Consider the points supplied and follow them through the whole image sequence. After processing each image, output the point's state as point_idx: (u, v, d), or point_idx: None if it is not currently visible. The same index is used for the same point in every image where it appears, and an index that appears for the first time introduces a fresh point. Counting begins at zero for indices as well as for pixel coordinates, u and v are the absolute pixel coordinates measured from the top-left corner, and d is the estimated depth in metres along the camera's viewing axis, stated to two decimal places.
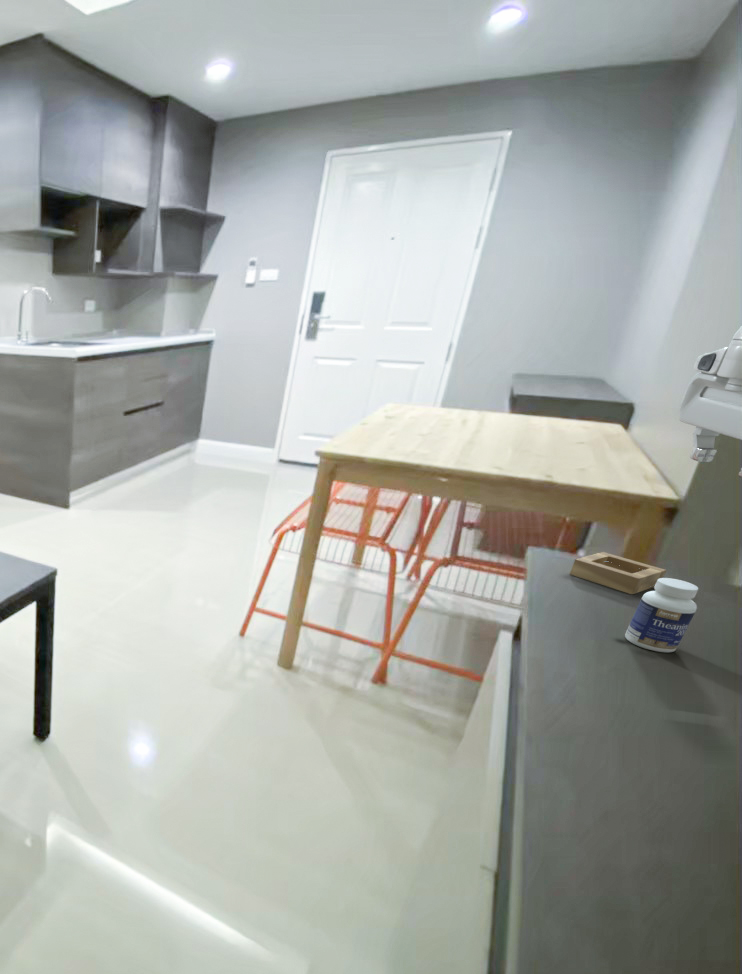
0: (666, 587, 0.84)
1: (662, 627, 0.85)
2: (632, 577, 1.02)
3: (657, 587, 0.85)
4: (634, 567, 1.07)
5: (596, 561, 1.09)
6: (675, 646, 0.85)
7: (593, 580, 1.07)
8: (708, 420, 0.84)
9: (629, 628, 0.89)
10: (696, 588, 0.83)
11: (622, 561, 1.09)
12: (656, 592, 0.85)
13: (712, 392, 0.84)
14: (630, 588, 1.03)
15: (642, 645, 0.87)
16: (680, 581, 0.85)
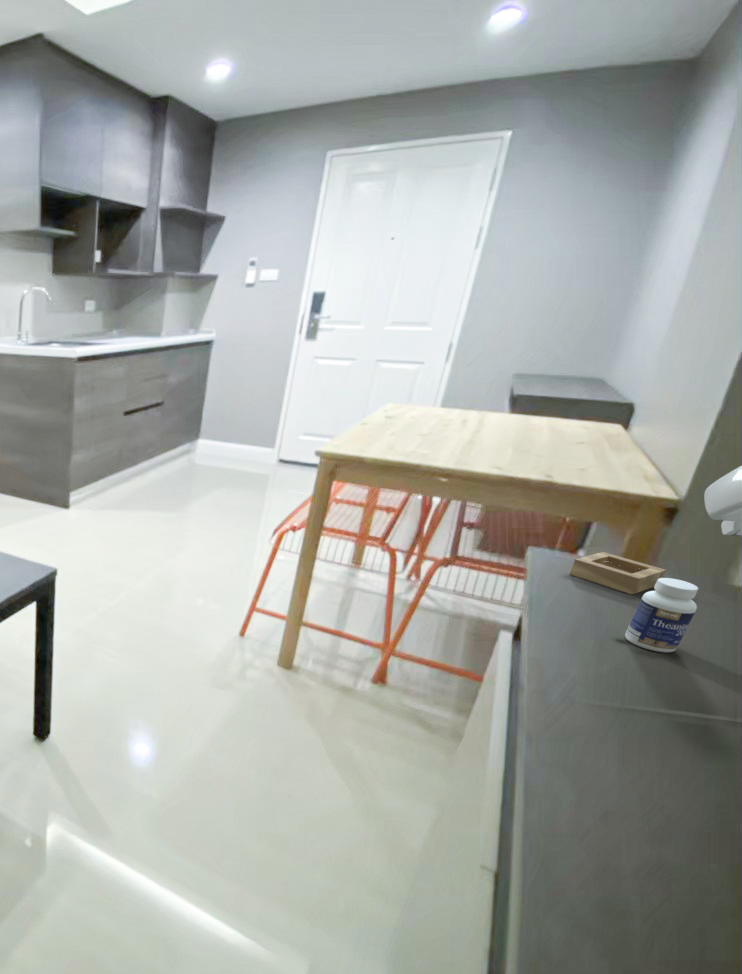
0: (666, 587, 0.84)
1: (662, 627, 0.85)
2: (632, 577, 1.02)
3: (657, 587, 0.85)
4: (634, 567, 1.07)
5: (596, 561, 1.09)
6: (675, 646, 0.85)
7: (593, 580, 1.07)
8: None
9: (629, 628, 0.89)
10: (696, 588, 0.83)
11: (622, 561, 1.09)
12: (656, 592, 0.85)
13: None
14: (630, 588, 1.03)
15: (642, 645, 0.87)
16: (680, 581, 0.85)
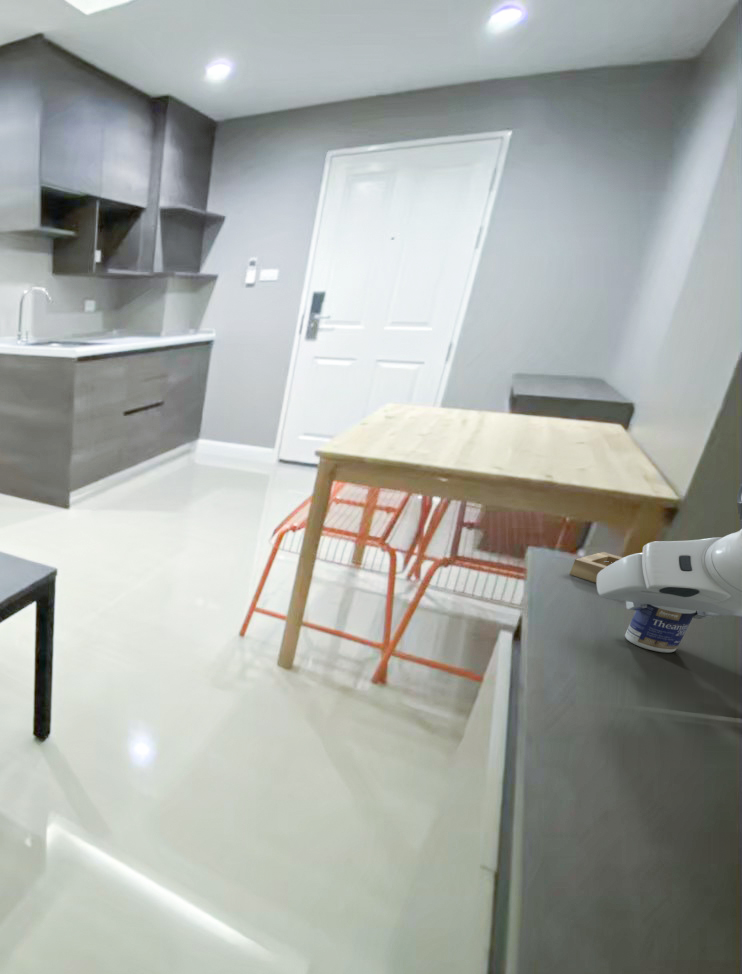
0: None
1: (663, 627, 0.85)
2: None
3: None
4: None
5: (596, 561, 1.09)
6: (675, 646, 0.85)
7: (593, 580, 1.07)
8: (661, 603, 0.82)
9: (629, 628, 0.88)
10: None
11: None
12: None
13: None
14: None
15: (642, 645, 0.87)
16: None
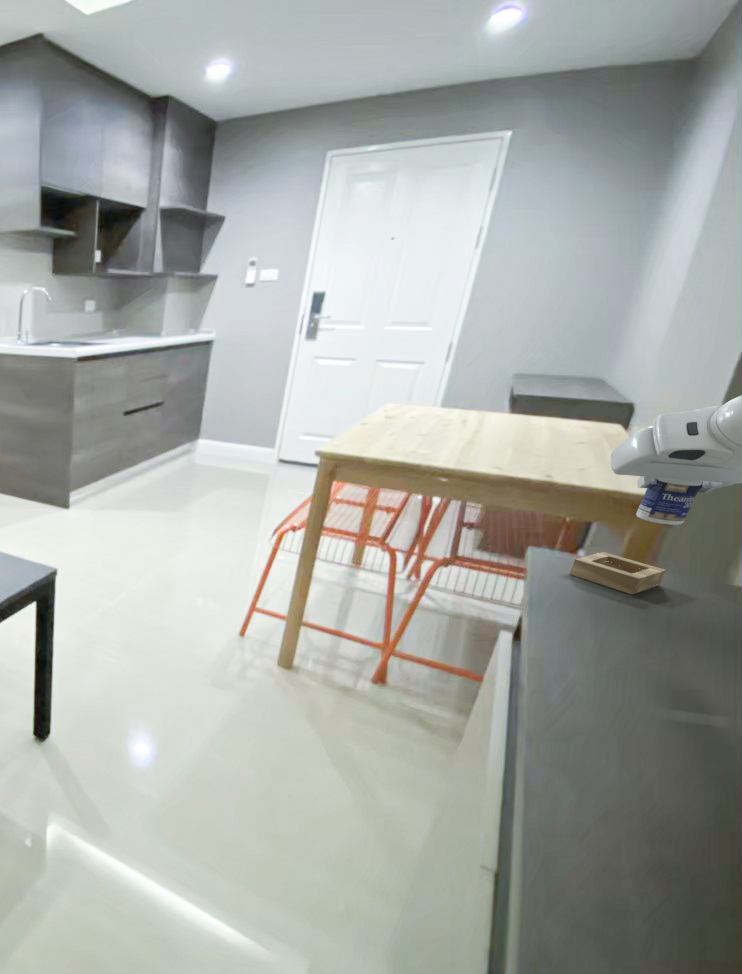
0: None
1: (671, 501, 0.93)
2: (632, 577, 1.02)
3: None
4: (634, 567, 1.07)
5: (596, 561, 1.09)
6: (682, 518, 0.94)
7: (593, 580, 1.07)
8: (669, 474, 0.90)
9: (640, 506, 0.97)
10: None
11: (622, 561, 1.09)
12: None
13: (669, 459, 0.88)
14: (630, 588, 1.03)
15: (652, 519, 0.95)
16: None
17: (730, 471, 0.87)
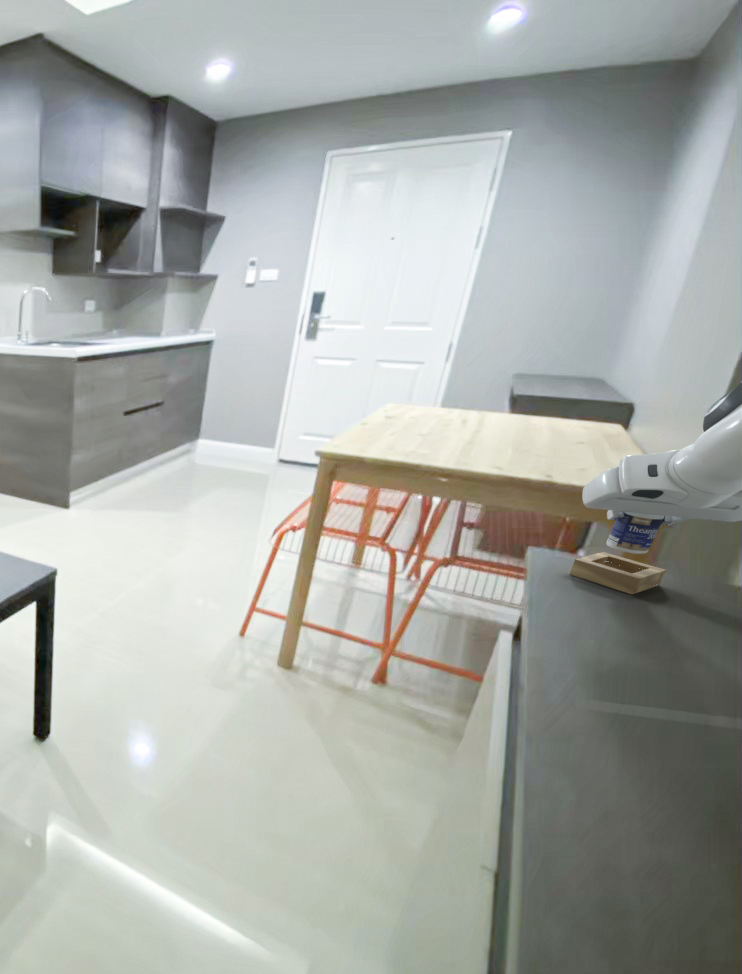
0: None
1: (636, 532, 1.02)
2: (632, 577, 1.02)
3: None
4: (634, 567, 1.07)
5: (596, 561, 1.09)
6: (647, 548, 1.03)
7: (593, 580, 1.07)
8: (634, 509, 1.00)
9: (610, 536, 1.06)
10: None
11: (622, 561, 1.09)
12: None
13: (633, 496, 0.97)
14: (630, 588, 1.03)
15: (620, 548, 1.05)
16: None
17: (688, 508, 0.96)
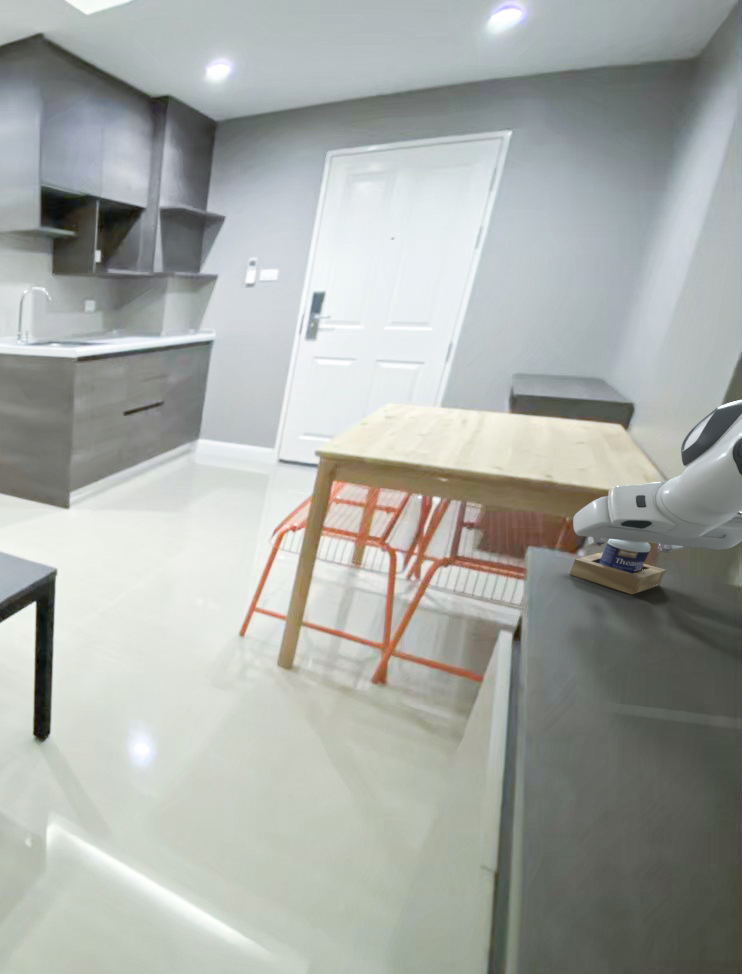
0: None
1: (623, 564, 1.05)
2: (632, 577, 1.02)
3: None
4: None
5: (596, 561, 1.09)
6: None
7: (593, 580, 1.07)
8: (624, 537, 1.01)
9: None
10: None
11: None
12: None
13: None
14: (630, 588, 1.03)
15: None
16: None
17: None
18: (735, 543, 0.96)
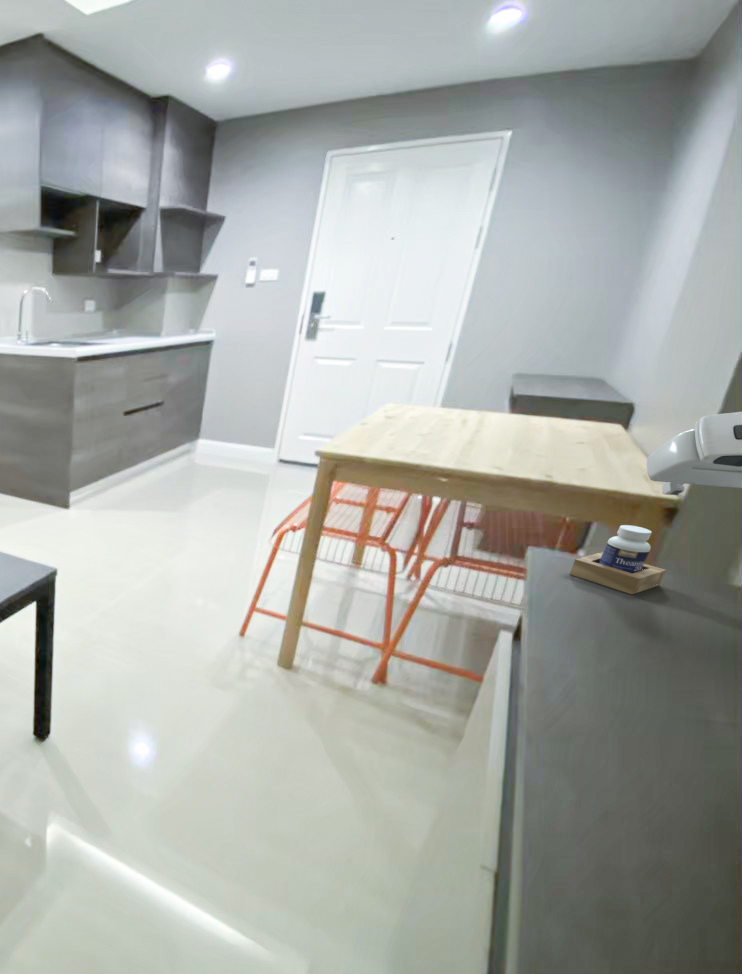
0: (626, 531, 1.04)
1: (623, 564, 1.05)
2: (632, 577, 1.02)
3: (619, 532, 1.05)
4: None
5: (596, 561, 1.09)
6: None
7: (593, 580, 1.07)
8: (712, 482, 0.83)
9: None
10: (650, 532, 1.03)
11: None
12: (618, 536, 1.06)
13: (712, 465, 0.81)
14: (630, 588, 1.03)
15: None
16: (638, 527, 1.05)
17: None
18: None
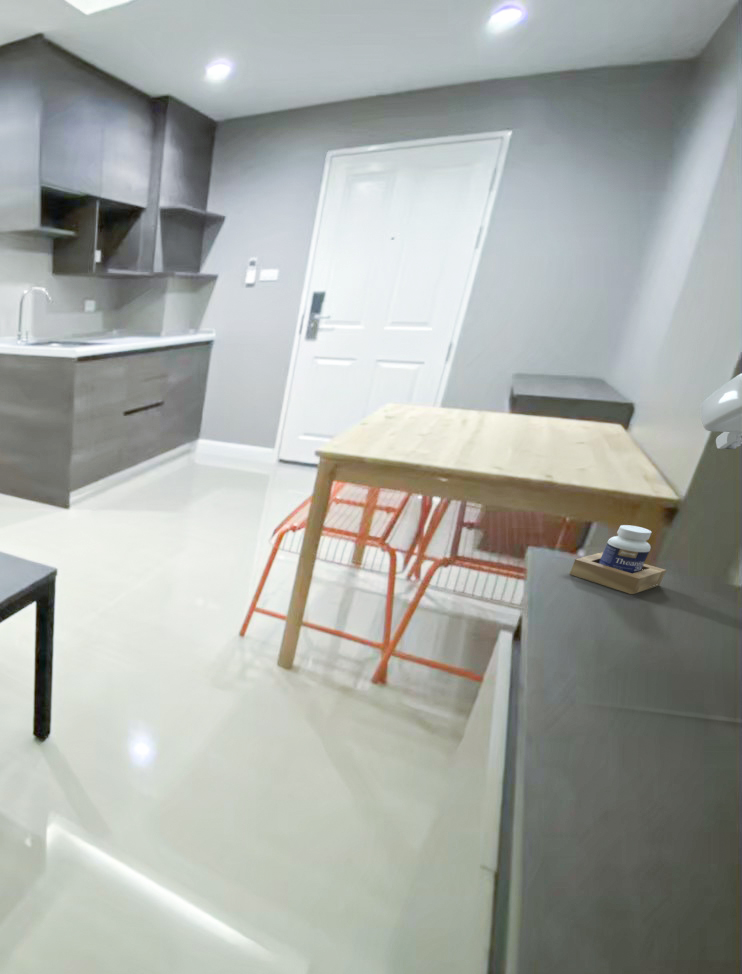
0: (626, 531, 1.04)
1: (623, 564, 1.05)
2: (632, 577, 1.02)
3: (619, 532, 1.05)
4: None
5: (596, 561, 1.09)
6: None
7: (593, 580, 1.07)
8: None
9: None
10: (650, 532, 1.03)
11: None
12: (618, 536, 1.06)
13: None
14: (630, 588, 1.03)
15: None
16: (638, 527, 1.05)
17: None
18: None
